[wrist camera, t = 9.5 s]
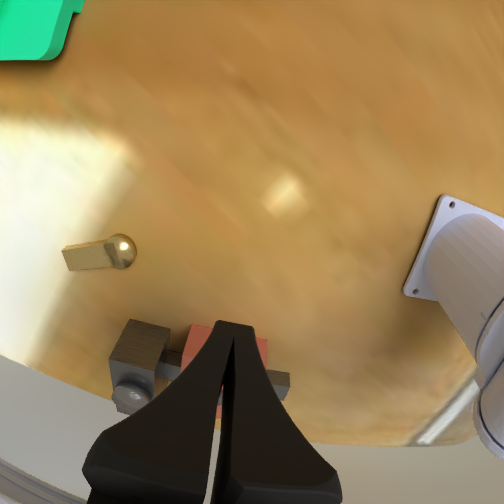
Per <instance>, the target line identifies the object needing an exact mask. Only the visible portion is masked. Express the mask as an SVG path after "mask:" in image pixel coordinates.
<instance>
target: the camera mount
mask: <svg viewBox="0 0 504 504" xmlns="http://www.w3.org/2000/svg"><path fill="white" fill-rule="evenodd" d="M84 1H85V0H0V60H52V59H54V58H55V57H57V56H58V55H59V53H60V52H61V50H62V48H63V45H64V41H65V38H66V34H67V31H68V27H69V24H70V21H71V17H72V14H73V13H81V10H82V7H83V4H84Z"/></svg>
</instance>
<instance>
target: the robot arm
mask: <svg viewBox="0 0 504 504" xmlns="http://www.w3.org/2000/svg"><path fill="white" fill-rule="evenodd" d="M450 202H453V204H452V206H450V207H449V204H450ZM415 289H417V290H416V291H415V292H413V290H415ZM403 292H404V294H405V295H406V296H410V297H416V298H421V299H427V300H432V301H438V302H439V304H440V305H441V307H442V308H443V310H444V311H445V313H446V314H447V316H448V317H449V319H450V321H451V322H452V324H453V325H454V327H455V328H456V330H457V331H458V333H459V335H460V336H461V338H462V339H463V341H464V343H465V344H466V346H467V348H468V349H469V351H470V353H471V354H472V356H473V358H474V359H475V361H476V363H477V370H476V372H475V374H474V376H473V377H474V379H475V381H476V383H477V385H478V386H479V388H480V392H479V393H478V395H477V397H476V399H475V401H474V405H473V421H474V425H475V428H476V431H477V433H478V435H479V437H480V439H481V441H482V442H483V443H484V445H485V446H486V447H487V448H488V449H489V450H490V452H492V453H493V454H494V455H495V456H497V457H498V458H500V459H502V460H504V218H503V217H501V216H498V215H496V214H494V213H491V212H489V211H487V210H484V209H482V208H479V207H477V206H474V205H472V204H469V203H467V202H464V201H462V200H459V199H457V198H454V197H452V196H449V195H442V196H441V197H440V199H439V201H438V204H437V207H436V210H435V212H434V215H433V218H432V221H431V223H430V226H429V228H428V231H427V234H426V236H425V239H424V241H423V244H422V246H421V248H420V251H419V253H418V256H417V258H416V260H415V263H414V265H413V267H412V269H411V272H410V274H409V276H408V278H407V281H406V283H405V285H404V287H403ZM222 386H223V394H222V414H221V435H220V444H219V451H218V458H217V464H216V470H215V477H214V483H213V489H212V495H211V502H210V504H340V503H341V502H342V490H341V485H340V481H339V478H338V475H337V471H336V470H335V469H334V468H333V467H332V466H331V465H330V464H329V463H328V462H326V461H325V460H324V459H323V458H322V457H321V456H320V454H318V452H317V451H316V450H315V449H314V448H313V447H312V446H311V444H310V443H309V442H308V441H307V440H306V438H305V437H304V436H303V434H302V433H301V432H300V430H299V429H298V428H297V426H296V425H295V424H294V422H293V421H292V419H291V418H290V416H289V415H288V413H287V412H286V410H285V408H284V407H283V405H282V403H281V401H280V400H279V398H278V396H277V394H276V392H275V390H274V388H273V386H272V384H271V381H270V379H269V377H268V374H267V372H266V369H265V367H264V364H263V361H262V359H261V356H260V352H259V349H258V346H257V342H256V337H255V332H254V328H253V327H252V326H247V325H242V324H237V323H232V322H227V321H222V320H218V321H216V322H215V325H214V328H213V330H212V332H211V334H210V335H209V337H208V339H207V340H206V342H205V343H204V345H203V346H202V348H201V349H200V350H199V352H198V353H197V355H196V356H195V357H194V359H193V360H192V361H191V362H190V363H189V364H188V366H187V367H186V368H185V369H184V370H183V372H182V373H181V374H180V375H179V376H178V377H177V378H176V379H175V380H174V381H173V382H172V383H171V384H170V385H169V386H168V387H167V388H166V389H164V390H163V391H162V392H161V393H160V394H159V395H158V396H156V397H155V398H154V399H153V400H151V401H150V402H149V403H148V404H146V405H145V406H143V407H142V408H141V409H139V410H138V411H136V412H135V413H133V414H132V415H130V416H129V417H127V418H126V419H124V420H122V421H121V422H119V423H117V424H115V425H113V426H112V427H110V428H108V429H106V430H104V431H103V432H102V433H101V434H100V436H99V437H98V438H97V439H96V441H95V442H94V444H93V445H92V447H91V449H90V451H89V452H88V454H87V457H86V460H85V463H84V465H83V468H82V472H83V475H84V476H85V478H86V480H87V481H88V483H89V484H90V486H91V488H92V489H91V493H90V495H89V498H88V501H87V500H85V499H82V498H80V497H77V496H75V495H72V494H70V493H68V492H66V491H63V490H61V489H59V488H57V487H54V486H52V485H50V484H48V483H46V482H44V481H42V480H40V479H38V478H36V477H34V476H32V475H30V474H28V473H26V472H24V471H23V470H21V469H19V468H17V467H15V466H14V465H12V464H10V463H8V462H6V461H5V460H3V459H1V458H0V504H203V502H204V498H205V495H206V488H207V482H208V475H209V465H210V458H211V449H212V441H213V433H214V426H215V419H216V412H217V405H218V401H219V397H220V394H221V390H222Z"/></svg>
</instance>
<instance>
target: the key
mask: <svg viewBox="0 0 504 504" xmlns="http://www.w3.org/2000/svg"><path fill="white" fill-rule="evenodd" d="M62 253H63V256H64V258H65V261H66V263H67V266H68V269H69V271H74V270H83V269H92V268H102V267H111V266H113V267H114V268H117V269H125V268H127V267H129V266H130V265H131V263H132V262H133V261H134V259H135V258H136V255H137V249H136V246H135V244H134V242H133V241H132V240H131V239H130V238H129V237H128V236H126V235H124V234H115V235H113V236H111V237H110V238H109V239H107V240H100V241H94V242H88V243H81V244H75V245H69V246H66V247H65V248H64V249H63V250H62Z"/></svg>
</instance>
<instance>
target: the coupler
mask: <svg viewBox="0 0 504 504" xmlns="http://www.w3.org/2000/svg"><path fill="white" fill-rule="evenodd" d="M169 342H170V329H168V328H164V327H159V326H155V325H151V324H147V323H143V322H139V321H136V320H132V319H130V320H129V322H128V324H127V325H126V327H125V329H124V331H123V333H122V335H121V336H120V338H119V340H118V342H117V344H116V346H115V348H114V350H113V351H112V353H111V355H110V357H109V365H110V372H111V378H112V385H113V391H114V392H113V394H112V400H113V402H114V403H115V404H116V407H117V411H118V412H121V413H124V414H128V415H132V414H133V413H135V412H136V411H138V410H139V409H141V408H142V407H143V406H145V405H146V404H148V403H149V402H150V401H151V400H153V399H154V398H155V397H156V396H158V395H159V394H160V393H161V392H162V391H163V390H164V389H166V386H167V383H168V380H172V381H174V380H175V379H176V378H177V377H178V376H179V375H180V372H181V363H182V355H183V354H182V353H178V352H173V351H169ZM266 372H267V374H268V377H269V379H270V381H271V384H272V386H273V388H274V390H275V392H276V394H277V396H278V398H279V400H282V401H284V399H285V397H286V395H287V392H288V390H289V388H290V376H289V373H284V372H278V371H271V370H266Z"/></svg>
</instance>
